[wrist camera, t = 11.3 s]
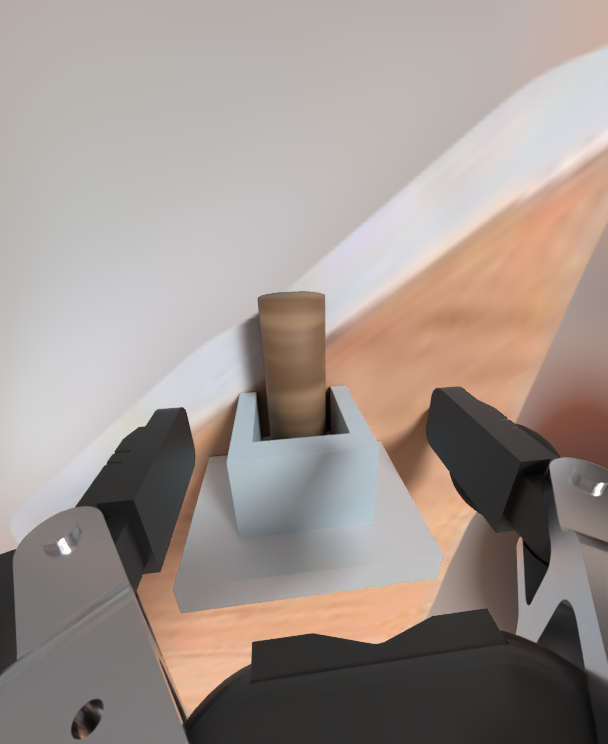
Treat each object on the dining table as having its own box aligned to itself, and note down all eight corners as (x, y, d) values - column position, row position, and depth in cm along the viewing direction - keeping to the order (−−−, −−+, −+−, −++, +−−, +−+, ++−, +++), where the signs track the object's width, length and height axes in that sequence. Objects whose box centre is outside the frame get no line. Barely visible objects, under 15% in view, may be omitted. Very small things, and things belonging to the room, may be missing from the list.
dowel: (258, 293, 19) (256, 304, 16) (319, 290, 20) (330, 301, 16) (271, 433, 24) (271, 468, 20) (321, 429, 24) (330, 462, 21)
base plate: (209, 456, 24) (172, 589, 15) (380, 440, 25) (443, 554, 16) (213, 476, 25) (180, 613, 16) (378, 459, 26) (437, 578, 17)
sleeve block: (239, 393, 22) (226, 462, 15) (346, 385, 23) (379, 448, 16) (248, 453, 24) (239, 538, 17) (344, 444, 25) (373, 522, 18)
